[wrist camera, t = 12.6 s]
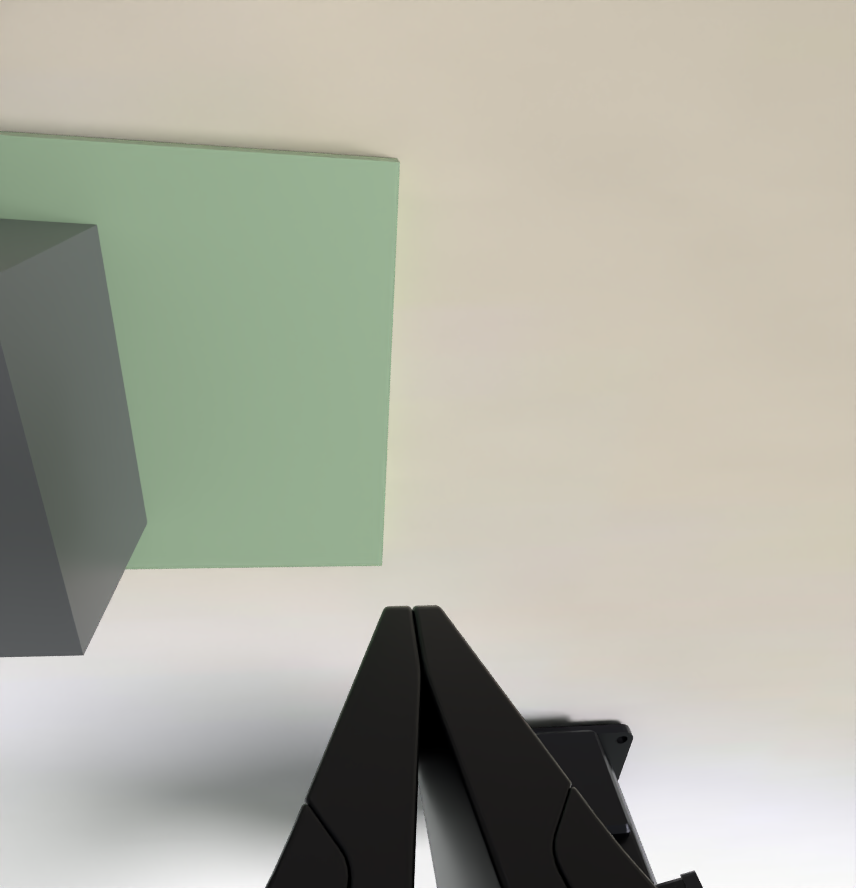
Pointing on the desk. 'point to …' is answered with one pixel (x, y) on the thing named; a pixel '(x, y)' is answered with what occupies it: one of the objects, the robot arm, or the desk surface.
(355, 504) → the board
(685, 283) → the desk surface
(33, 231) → the grey c-shaped bracket
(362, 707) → the robot arm
